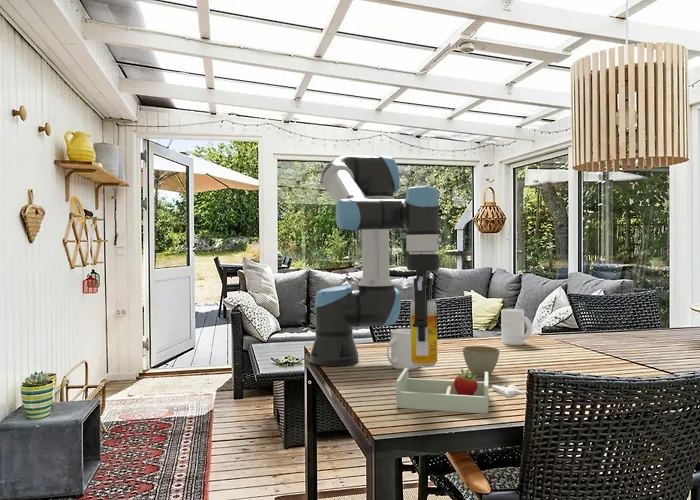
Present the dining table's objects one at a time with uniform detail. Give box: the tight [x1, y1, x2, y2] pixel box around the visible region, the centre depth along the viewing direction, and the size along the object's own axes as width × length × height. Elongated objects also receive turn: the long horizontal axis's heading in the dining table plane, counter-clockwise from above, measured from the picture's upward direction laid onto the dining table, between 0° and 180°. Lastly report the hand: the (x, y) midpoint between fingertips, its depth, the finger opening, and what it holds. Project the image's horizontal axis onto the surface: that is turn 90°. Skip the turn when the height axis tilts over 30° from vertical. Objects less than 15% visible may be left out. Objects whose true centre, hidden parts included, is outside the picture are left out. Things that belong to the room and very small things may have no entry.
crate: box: [395, 368, 490, 415], centre depth 123 cm, size 20×13×6 cm, turn 75°
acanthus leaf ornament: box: [491, 384, 527, 398], centre depth 131 cm, size 8×7×2 cm
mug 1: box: [386, 328, 420, 371], centre depth 158 cm, size 9×12×11 cm
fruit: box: [454, 368, 478, 396], centre depth 122 cm, size 5×5×8 cm
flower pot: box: [462, 345, 501, 378], centre depth 149 cm, size 10×10×7 cm
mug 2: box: [500, 308, 534, 346], centre depth 193 cm, size 8×12×12 cm
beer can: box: [409, 298, 438, 368], centre depth 124 cm, size 6×6×15 cm
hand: (424, 352), depth 124 cm, fingers closed on beer can, 6 cm apart
